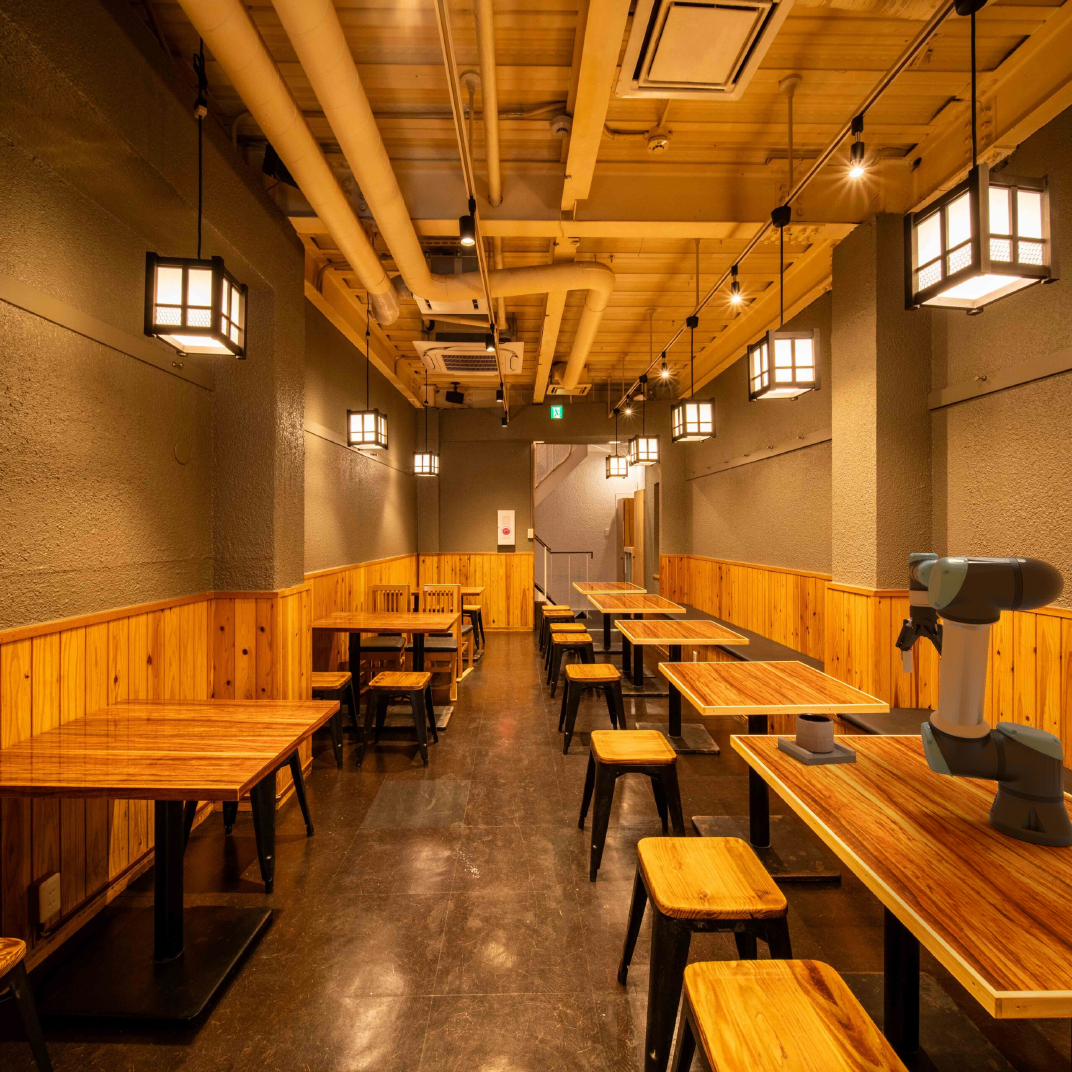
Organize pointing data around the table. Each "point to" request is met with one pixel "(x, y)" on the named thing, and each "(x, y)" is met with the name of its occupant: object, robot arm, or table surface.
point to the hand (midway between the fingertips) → (925, 677)
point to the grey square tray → (834, 757)
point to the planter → (815, 732)
